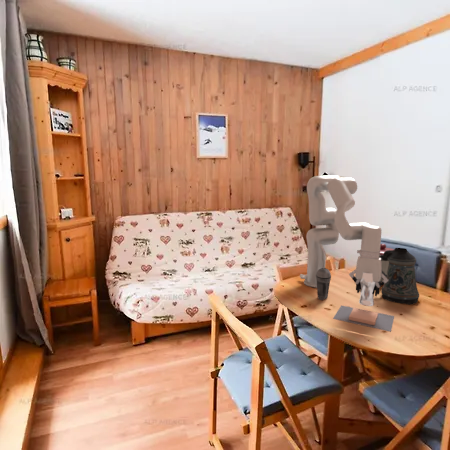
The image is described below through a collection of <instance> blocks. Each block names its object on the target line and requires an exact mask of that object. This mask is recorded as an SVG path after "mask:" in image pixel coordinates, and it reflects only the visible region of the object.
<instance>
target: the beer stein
mask: <svg viewBox="0 0 450 450" xmlns="http://www.w3.org/2000/svg"><path fill="white" fill-rule="evenodd" d="M393 249H394V250H387V251H385V252H384V254H383V255H380V257H379V258H381V261H389V266H388V270H387V275H386V274H385V273H384V272H383V271H382V273H383V274H384V275H385V276H386V277H387V278H388V279H389V280H388V282H386V283H385V284H384V285H382V286H381V290H380V291H381V292H380V293H381V297H382V298H383V300H385V301H387V302H391V303H397V304H403V305H409V306H410V305H411V306H413V305H415V304H417V303H418V301H419V298H420V292H419V290H418V285H417V279H416V269H415V265H416V263H417V258H416V257H415V256H414V255H413V254H412V253H410V252H409V251H408V248H405V247H395V248H393ZM381 278H382V277H381ZM382 279H383V278H382ZM383 280H384V279H383Z"/></svg>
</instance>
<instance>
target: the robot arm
mask: <svg viewBox="0 0 450 450" xmlns="http://www.w3.org/2000/svg"><path fill="white" fill-rule="evenodd" d="M357 190H358V183H357V181H356V179H354V178H352V177H349V176H342V175H315V176H313V177H311V178H309V180H308V182H307V183H306V193H307V196H308V217H309V219H308V220H309V223H310V224H311V225H312V226H315V227H314V228H310V229H309V230H308V231H307V233H306V243H307V244H306V245H307V263H306V264H307V269H306V271H307V272H306V274H302V273H300V274H299V278H300V279H301V280H302V279H303V284H304V285H305V286H307V287H310V288H316V289H317V280H316V273H317V271H318V270H319V269H320V268H323V262H324V260H325V261H326V259H327V257H326V256H327V255H326V251H325V249H324V247H323V246H328V245H334V244H335V245H336V244H337V242H338V240H339V237H341V238H342V239H343V240H345V241H358V240H361V245H360V249H358V250H357V251H356V253H357V254H359V255H358V257H357V261H356V266H355V269H354V270H353V271H351V272H350V273H348V275H349V277H350V278H351V279H352V281H354V283H355V291H356V294H359V293H360V284H359V281H360V280H362V276H363V272H366V273H373V275H372V276H373V282H376V288H375V292H374V297H377V296H378V295H379V294H380V288H382V287H383V286H384V284H385V283H386V282H388V280H389V279H388V278H387V277H386V276H385V275H384V274H383V273H382V262H381V258H379V257H380V244H382V243H381V242H382V228H381V226H378V225H372V224H370V223H368V222H350V223H349V222H348V220H347V218H346V215H345V214H346V213H347V212H349V211H350V210H351V209H352V208H354V207H355V205H356V201H355V199H354V197H353V194H355V193H357ZM323 193H329V195H330V197H331V200H332V201H333V203H334V205H335V207H336V209H335V208H334V207H327V206H326V198H325V196H324V195H323ZM317 226H325V227H317ZM324 268H326V263H325V264H324ZM381 277H382V278H383V279H384V280H383V281H382V282H379V281H380V280H381Z"/></svg>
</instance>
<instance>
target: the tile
mask: <svg viewBox="0 0 450 450" xmlns="http://www.w3.org/2000/svg"><path fill="white" fill-rule="evenodd" d="M352 308H353V310H352V312H351V314H350V316H349V320H353V321H357V322H362V323H366V324H371V325H375V323H376V320H377V317H378V313H379V312H377V311H376V312H377V313H376V312H375V311H372V312H371V310H367V311H366V309H362V310H361V308H357V309H356V307H352Z"/></svg>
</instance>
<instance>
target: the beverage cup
mask: <svg viewBox="0 0 450 450" xmlns="http://www.w3.org/2000/svg"><path fill="white" fill-rule="evenodd" d="M324 264H325V265H326V259H325V260H324V262H323V268H320V269H319V270H318V271H317V273H316V280H317V288H316V293H317V299H318V300H319V301H324V300H327V299H328V296H329V292H330V291H329V289H330V282H331V280H332V274H331V271H330V270H329V269H328V268H327V267H325V268H324Z"/></svg>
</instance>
